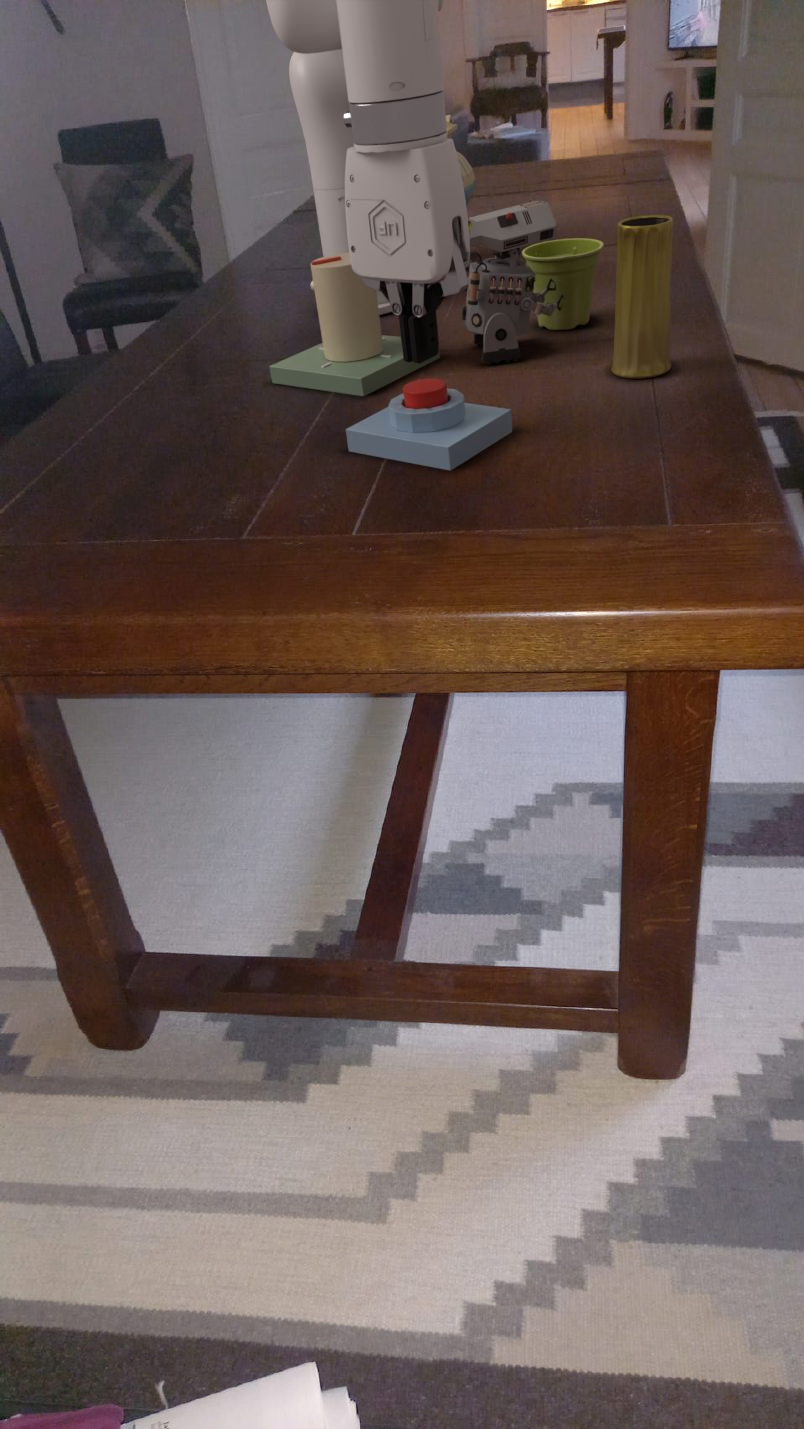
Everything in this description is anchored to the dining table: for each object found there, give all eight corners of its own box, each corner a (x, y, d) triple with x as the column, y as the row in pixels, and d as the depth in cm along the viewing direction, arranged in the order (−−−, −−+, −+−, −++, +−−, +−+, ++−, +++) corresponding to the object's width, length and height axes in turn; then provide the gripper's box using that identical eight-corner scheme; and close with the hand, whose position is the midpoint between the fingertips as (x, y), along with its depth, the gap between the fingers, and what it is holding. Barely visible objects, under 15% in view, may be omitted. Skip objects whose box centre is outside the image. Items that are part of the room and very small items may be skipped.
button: (396, 409, 91) (394, 390, 90) (422, 395, 93) (420, 376, 92) (430, 414, 88) (429, 394, 87) (456, 399, 91) (455, 380, 90)
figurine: (571, 355, 110) (570, 206, 101) (469, 368, 110) (459, 221, 101) (556, 333, 117) (554, 193, 108) (460, 346, 117) (450, 207, 108)
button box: (348, 451, 93) (342, 410, 91) (412, 416, 99) (408, 376, 97) (450, 471, 87) (446, 427, 84) (512, 432, 92) (510, 389, 90)
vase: (674, 360, 104) (681, 212, 96) (667, 379, 99) (674, 225, 91) (616, 361, 106) (618, 216, 98) (606, 380, 101) (607, 229, 93)
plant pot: (601, 332, 115) (601, 253, 110) (521, 337, 117) (517, 259, 112) (604, 311, 122) (604, 235, 117) (528, 316, 125) (526, 241, 120)
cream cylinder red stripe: (371, 340, 116) (359, 246, 110) (392, 353, 111) (380, 255, 105) (317, 352, 115) (302, 257, 109) (335, 366, 109) (320, 267, 103)
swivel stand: (272, 383, 114) (268, 364, 112) (350, 348, 122) (347, 330, 121) (363, 397, 106) (361, 377, 105) (440, 358, 114) (438, 339, 113)
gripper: (298, 134, 80) (332, 363, 90) (447, 129, 71) (465, 381, 82) (357, 119, 84) (383, 338, 95) (503, 113, 76) (514, 353, 87)
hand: (421, 357), depth 89 cm, fingers closed
